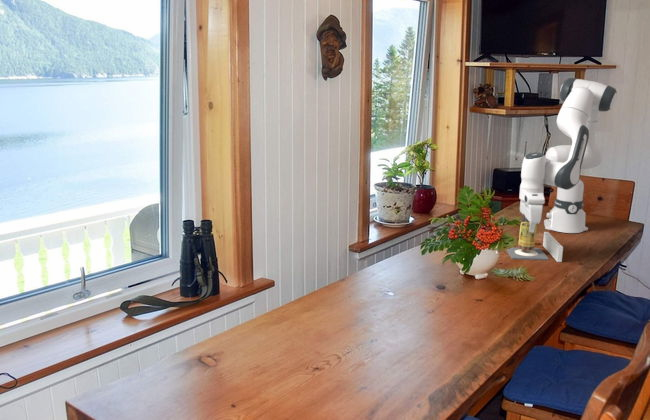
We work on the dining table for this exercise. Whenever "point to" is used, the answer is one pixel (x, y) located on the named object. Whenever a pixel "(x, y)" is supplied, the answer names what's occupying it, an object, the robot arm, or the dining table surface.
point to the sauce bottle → (526, 235)
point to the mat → (527, 254)
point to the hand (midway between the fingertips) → (528, 228)
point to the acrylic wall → (552, 246)
